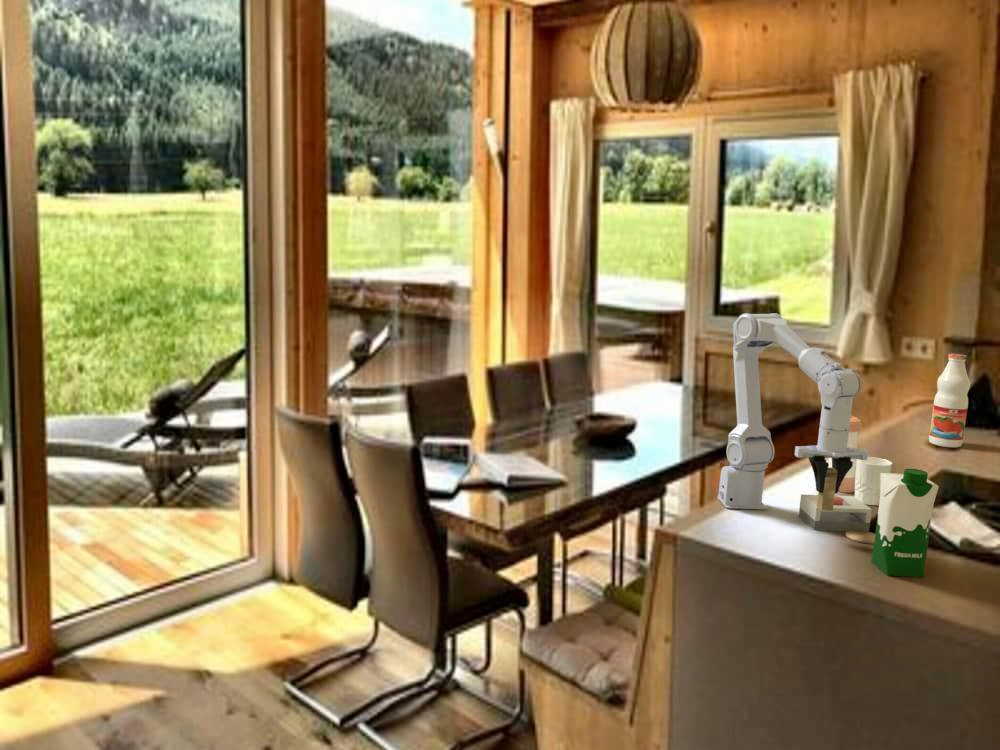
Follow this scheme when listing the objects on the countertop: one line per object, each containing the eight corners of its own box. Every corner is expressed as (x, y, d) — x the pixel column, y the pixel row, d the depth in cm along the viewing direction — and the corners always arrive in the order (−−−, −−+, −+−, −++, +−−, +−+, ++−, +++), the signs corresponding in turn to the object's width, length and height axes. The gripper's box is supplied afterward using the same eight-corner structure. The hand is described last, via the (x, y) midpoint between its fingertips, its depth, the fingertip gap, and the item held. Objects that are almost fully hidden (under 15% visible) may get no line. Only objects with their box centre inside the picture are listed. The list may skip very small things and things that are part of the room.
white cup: (865, 507, 212) (870, 465, 210) (844, 496, 219) (849, 456, 217) (894, 505, 214) (899, 465, 212) (872, 495, 221) (877, 456, 220)
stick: (821, 510, 187) (825, 470, 185) (816, 506, 189) (821, 467, 188) (833, 510, 187) (837, 471, 186) (828, 506, 189) (832, 467, 188)
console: (814, 529, 194) (816, 507, 193) (798, 515, 203) (801, 494, 202) (868, 531, 194) (871, 509, 193) (851, 517, 203) (853, 496, 202)
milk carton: (884, 577, 169) (898, 474, 165) (864, 559, 178) (876, 460, 174) (931, 579, 169) (945, 476, 166) (908, 561, 178) (921, 462, 175)
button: (830, 511, 196) (832, 500, 196) (825, 507, 199) (826, 495, 199) (844, 512, 197) (845, 500, 196) (838, 507, 199) (840, 496, 199)
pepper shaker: (857, 493, 222) (867, 417, 219) (826, 490, 223) (835, 414, 220) (852, 485, 229) (861, 411, 226) (822, 482, 230) (831, 409, 227)
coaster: (854, 543, 187) (854, 541, 187) (840, 531, 194) (840, 529, 193) (887, 544, 187) (887, 542, 187) (872, 532, 194) (872, 530, 194)
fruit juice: (959, 442, 283) (972, 354, 278) (963, 449, 274) (977, 358, 269) (926, 438, 286) (938, 351, 281) (929, 445, 277) (942, 355, 272)
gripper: (806, 431, 181) (799, 496, 183) (877, 434, 182) (869, 499, 184) (794, 423, 188) (787, 486, 190) (862, 425, 189) (854, 488, 191)
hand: (826, 491), depth 188 cm, fingers closed on stick, 2 cm apart
